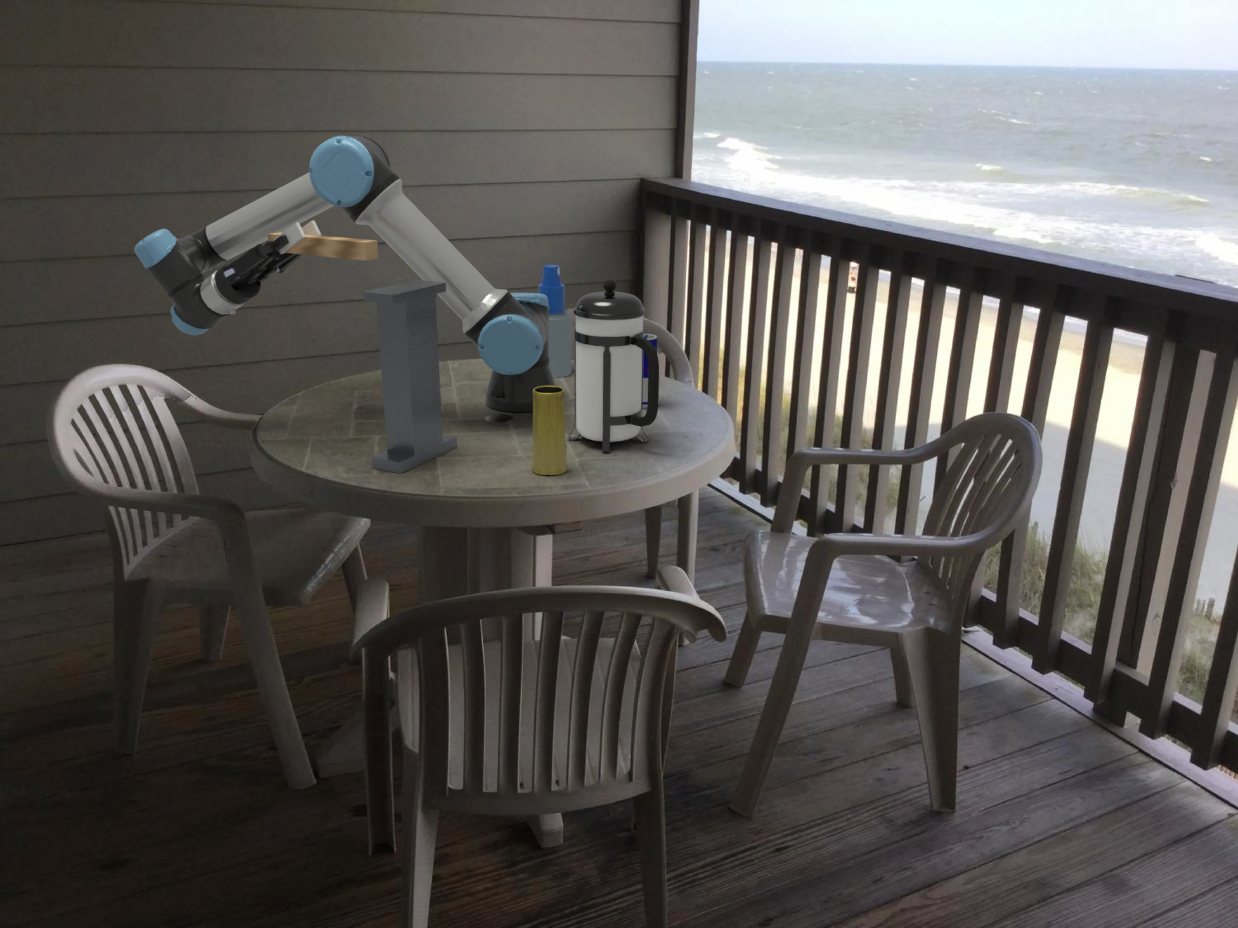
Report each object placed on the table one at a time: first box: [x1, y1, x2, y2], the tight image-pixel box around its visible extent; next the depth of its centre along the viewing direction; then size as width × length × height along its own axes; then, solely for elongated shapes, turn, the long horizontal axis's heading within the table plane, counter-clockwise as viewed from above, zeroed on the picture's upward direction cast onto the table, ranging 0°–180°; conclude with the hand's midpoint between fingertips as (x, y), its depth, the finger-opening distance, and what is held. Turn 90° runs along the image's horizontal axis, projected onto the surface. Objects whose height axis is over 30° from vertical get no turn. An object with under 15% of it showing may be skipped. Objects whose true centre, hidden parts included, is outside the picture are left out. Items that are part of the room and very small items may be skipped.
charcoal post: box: [362, 279, 458, 474], centre depth 170 cm, size 6×16×30 cm, turn 152°
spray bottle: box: [537, 264, 572, 379], centre depth 228 cm, size 9×9×25 cm
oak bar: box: [267, 232, 379, 262], centre depth 171 cm, size 22×3×3 cm, turn 63°
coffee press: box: [568, 278, 660, 454], centre depth 180 cm, size 17×16×30 cm
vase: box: [531, 385, 568, 477], centre depth 167 cm, size 6×6×14 cm
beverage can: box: [641, 333, 658, 410], centre depth 205 cm, size 5×5×15 cm
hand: (308, 228), depth 171 cm, fingers closed on oak bar, 3 cm apart
